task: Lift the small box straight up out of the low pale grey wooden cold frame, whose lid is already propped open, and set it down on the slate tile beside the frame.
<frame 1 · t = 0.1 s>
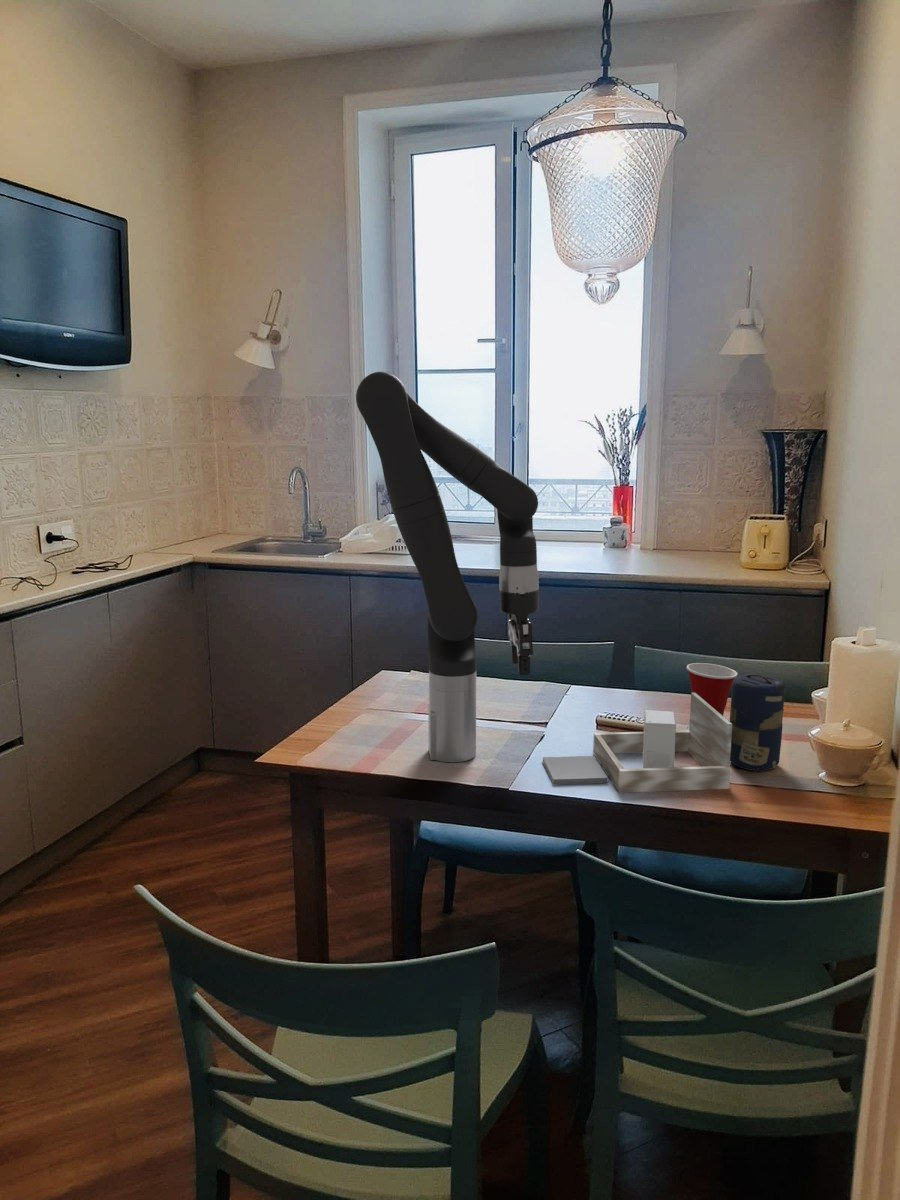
hand: (520, 668, 175), 17 cm above the table, tool pointing down, fingers open, 8 cm apart
slate tile: (574, 772, 168), on the table
plastic cup: (709, 721, 197), on the table
small box: (657, 770, 169), resting in cold frame
cold frame: (657, 769, 169), on the table
canister: (752, 765, 172), on the table
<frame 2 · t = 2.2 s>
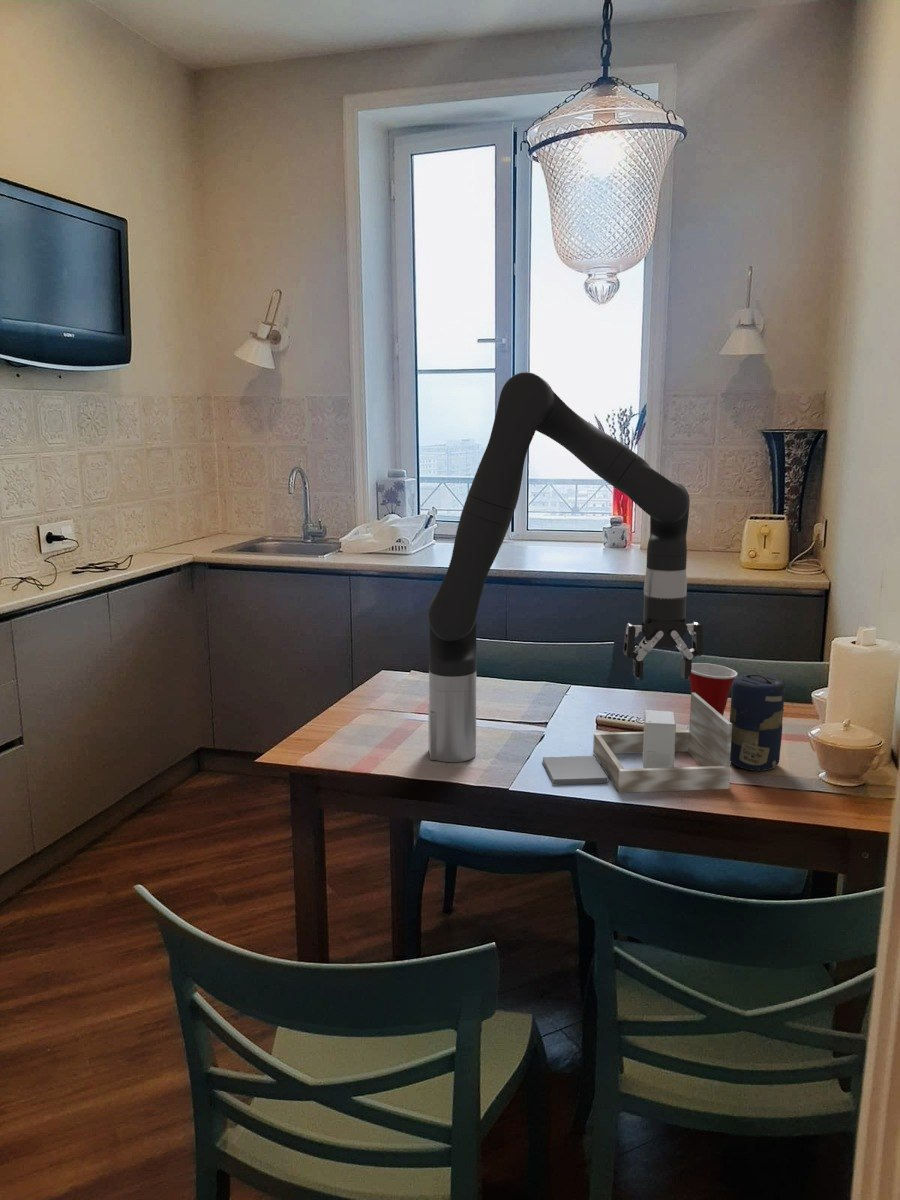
hand: (661, 678, 166), 18 cm above the table, tool pointing down, fingers open, 8 cm apart
nothing on the table moved.
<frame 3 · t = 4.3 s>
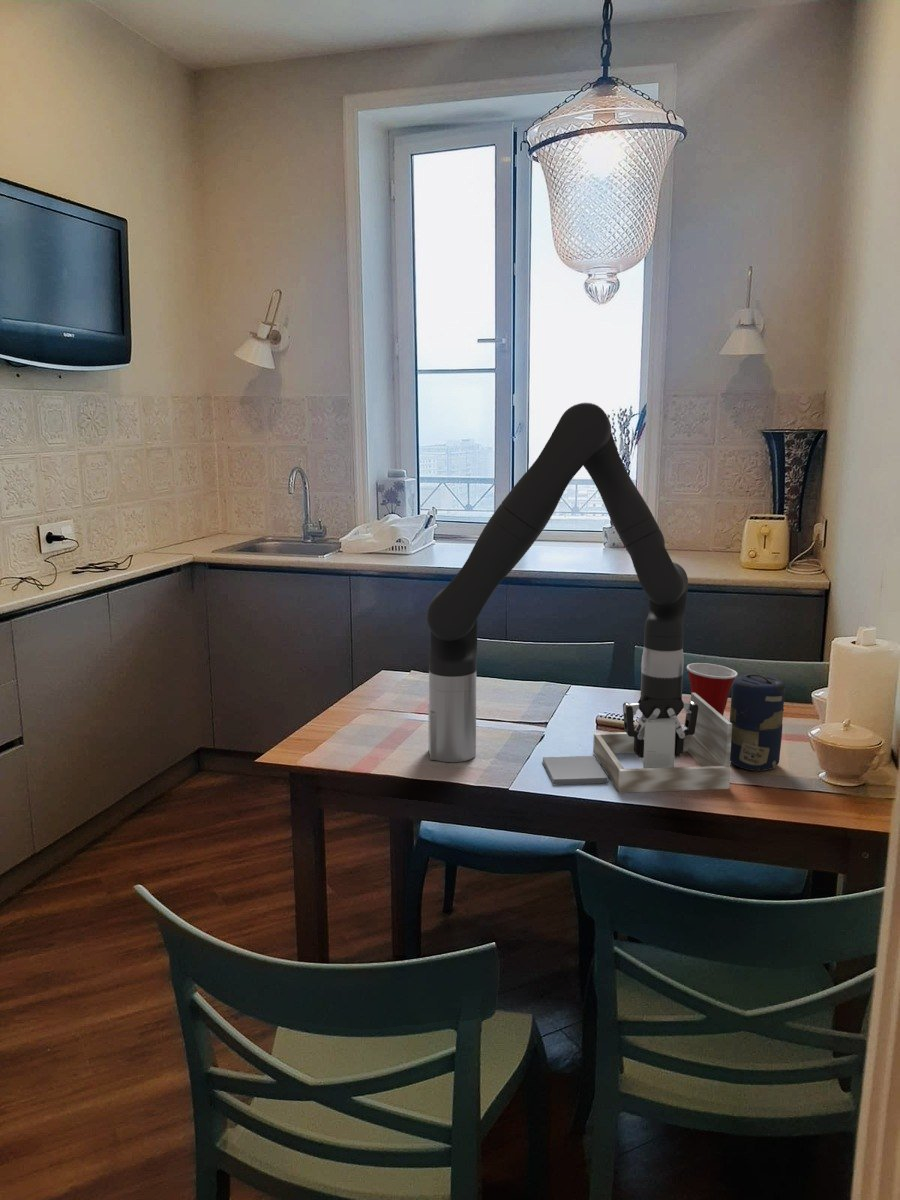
hand: (658, 755, 169), 3 cm above the table, tool pointing down, fingers closed on small box, 6 cm apart
small box: (657, 770, 169), resting in cold frame, touching gripper
everything else where it was.
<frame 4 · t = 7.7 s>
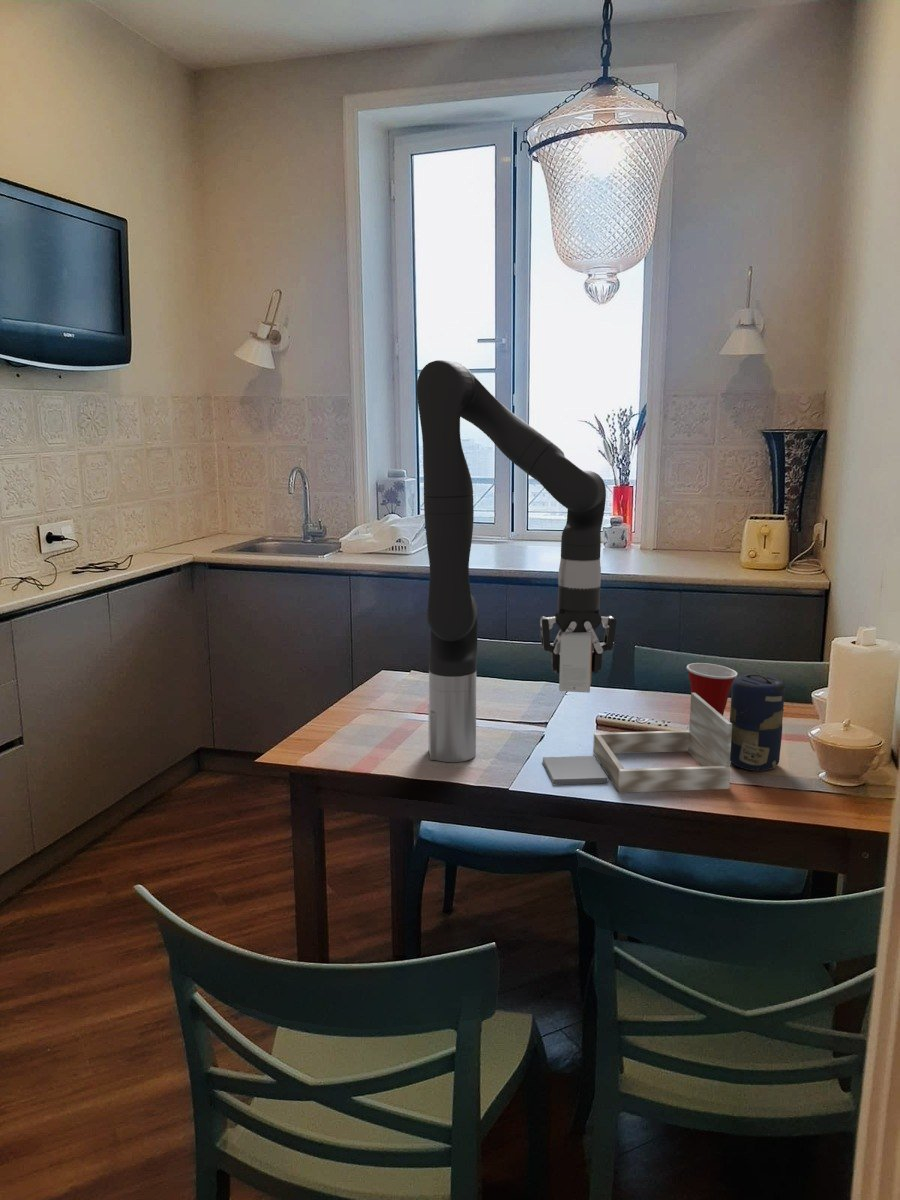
hand: (576, 672, 164), 19 cm above the table, tool pointing down, fingers closed on small box, 6 cm apart
small box: (575, 687, 165), point 16 cm above the table, touching gripper
everything else where it was.
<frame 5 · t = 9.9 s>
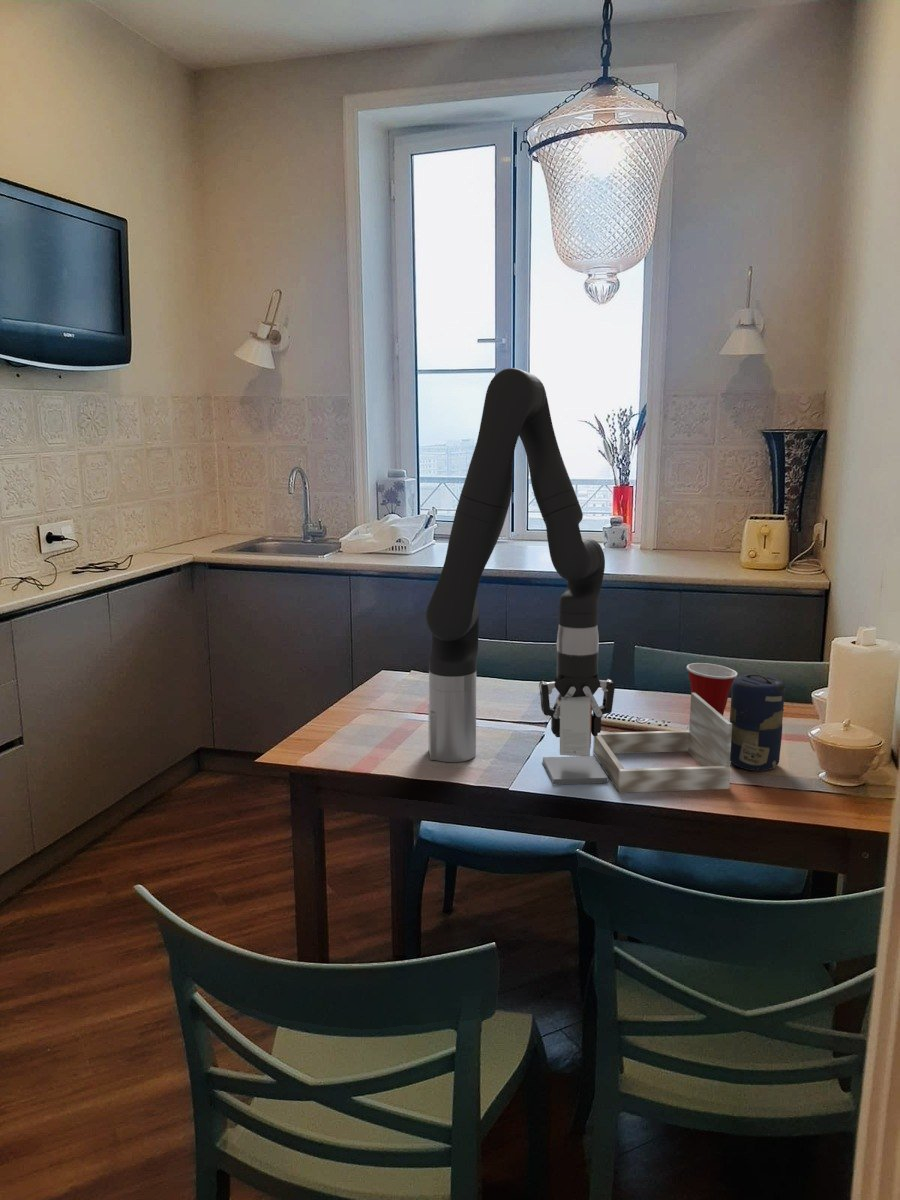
hand: (576, 735, 167), 7 cm above the table, tool pointing down, fingers closed on small box, 6 cm apart
small box: (575, 750, 167), point 4 cm above the table, touching gripper
everything else where it was.
when the fingers open (5 cm above the table, at t = 11.4 s): small box drops 1 cm, resting on slate tile.
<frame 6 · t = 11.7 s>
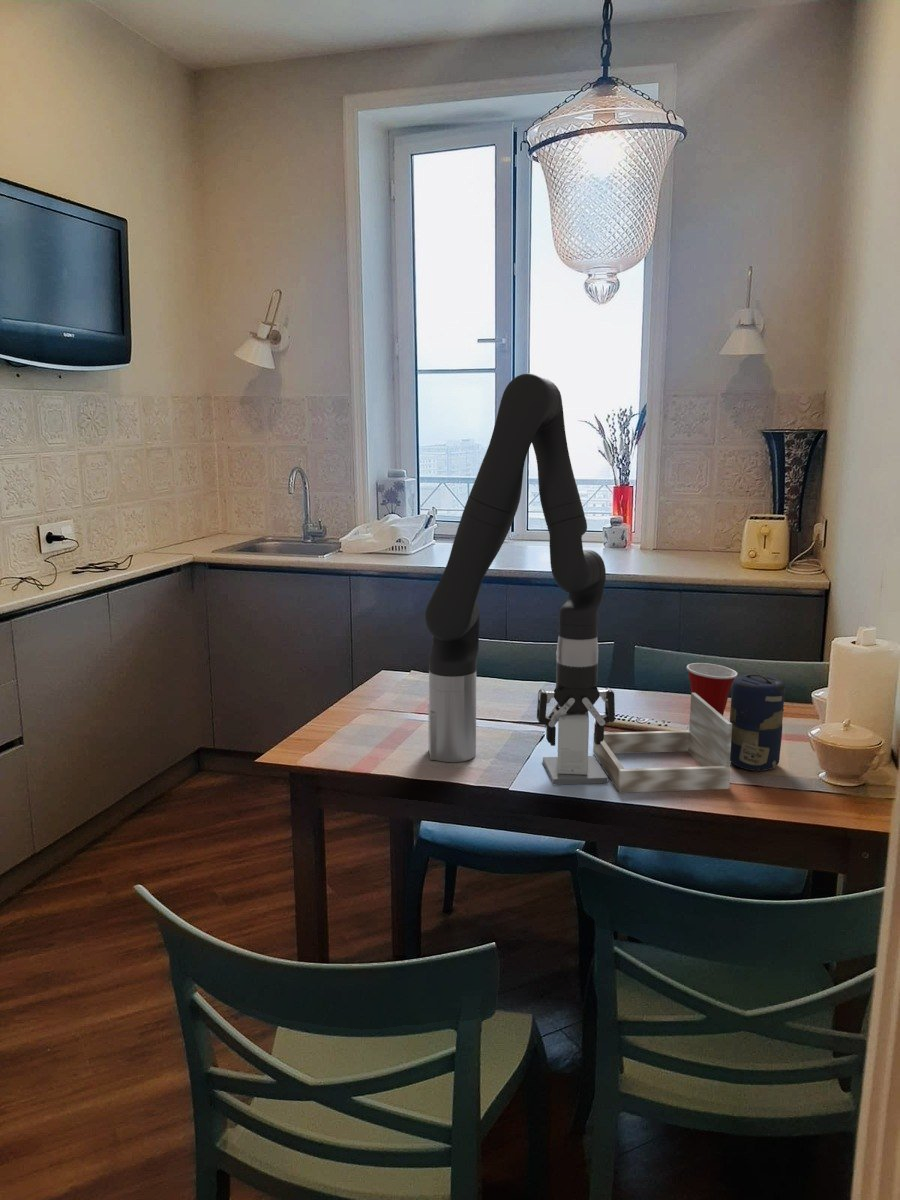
hand: (574, 743, 167), 6 cm above the table, tool pointing down, fingers open, 8 cm apart
small box: (572, 768, 168), point 1 cm above the table, touching slate tile
everything else where it was.
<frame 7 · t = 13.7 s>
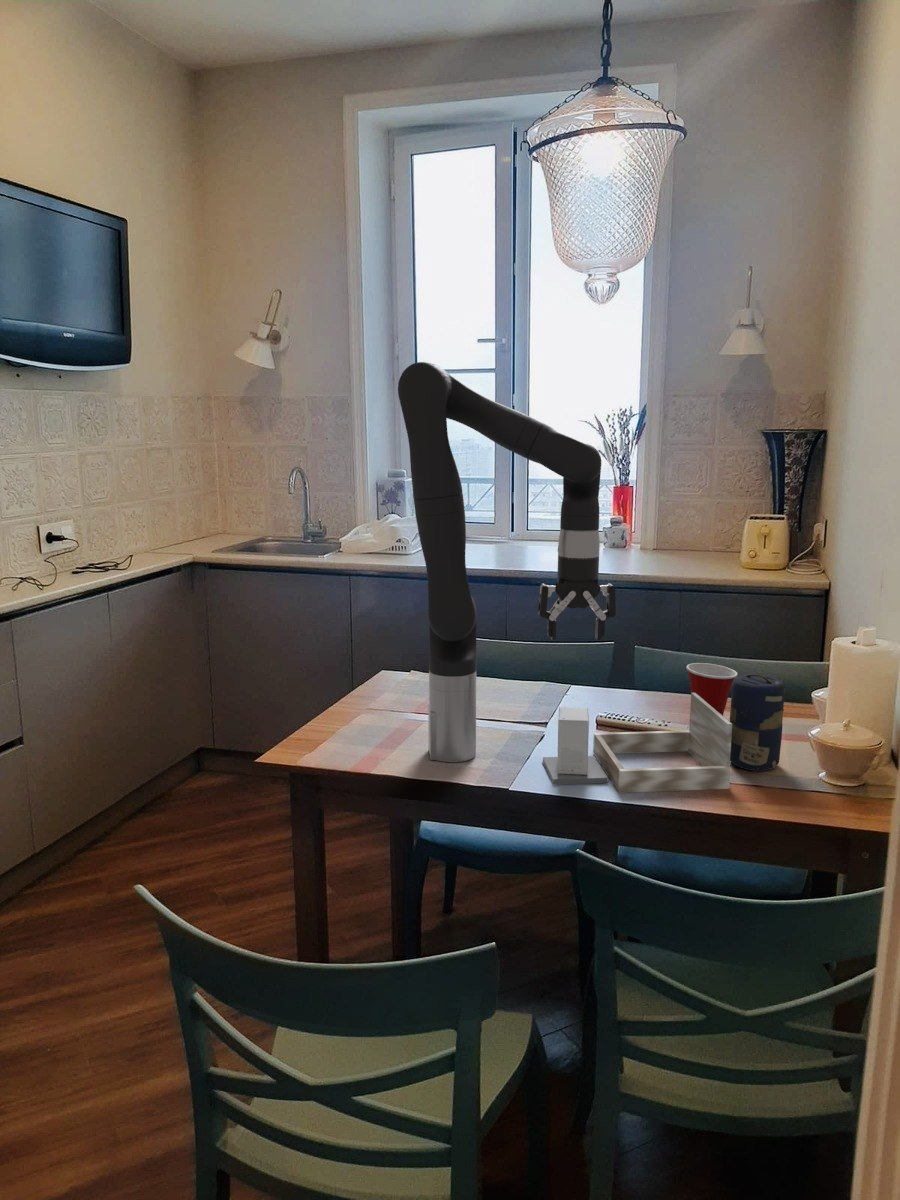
hand: (575, 639, 168), 25 cm above the table, tool pointing down, fingers open, 8 cm apart
nothing on the table moved.
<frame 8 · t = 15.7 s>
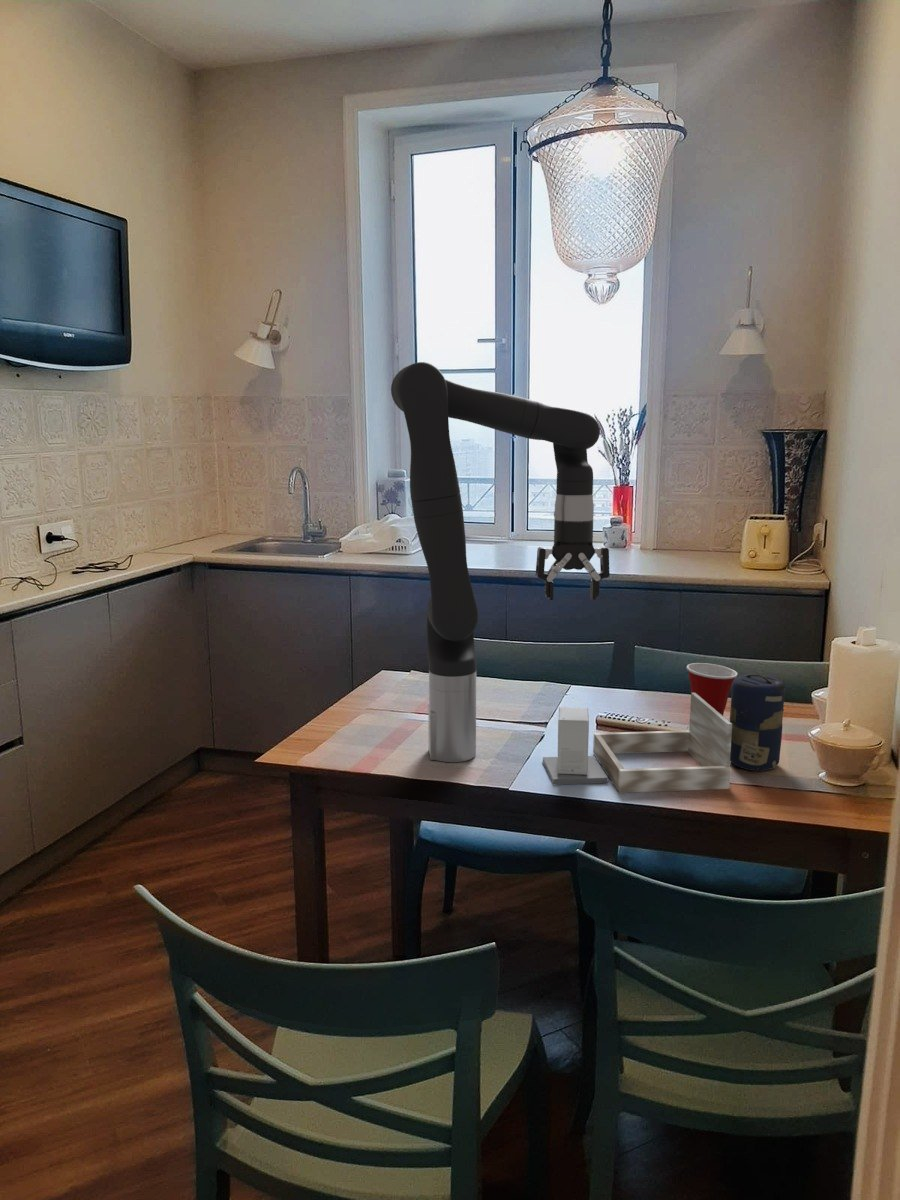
hand: (571, 599, 177), 30 cm above the table, tool pointing down, fingers open, 8 cm apart
nothing on the table moved.
at the end: small box inside the target area on the slate tile (0.4 cm from its centre), point 0.8 cm above the slate tile's base; small box tilted 0°; the gripper is holding nothing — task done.
